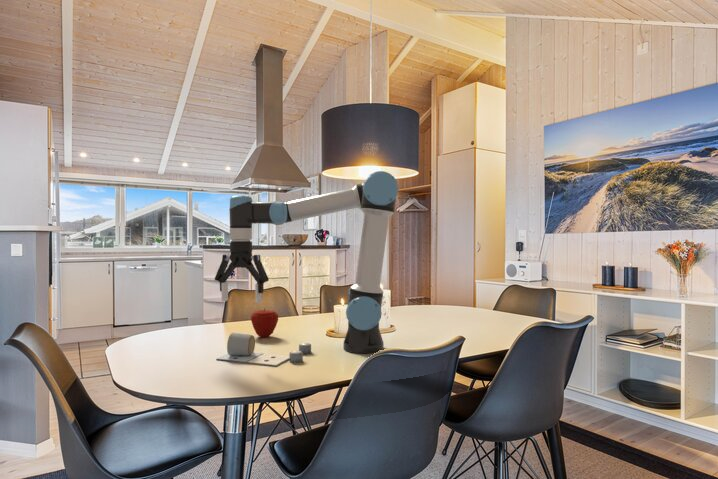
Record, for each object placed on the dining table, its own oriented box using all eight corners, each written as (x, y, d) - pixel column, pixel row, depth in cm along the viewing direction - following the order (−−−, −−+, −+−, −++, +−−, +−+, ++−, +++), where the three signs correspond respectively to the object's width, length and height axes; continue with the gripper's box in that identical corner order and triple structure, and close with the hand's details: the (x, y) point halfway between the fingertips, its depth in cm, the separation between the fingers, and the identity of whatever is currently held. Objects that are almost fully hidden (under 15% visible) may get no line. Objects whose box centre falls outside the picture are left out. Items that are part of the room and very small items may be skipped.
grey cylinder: (250, 358, 151) (250, 335, 151) (226, 357, 151) (226, 335, 151) (258, 350, 162) (258, 329, 162) (235, 350, 162) (236, 329, 162)
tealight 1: (304, 360, 151) (304, 350, 151) (298, 364, 147) (298, 354, 147) (293, 359, 153) (293, 349, 153) (287, 362, 148) (287, 352, 148)
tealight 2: (313, 352, 162) (313, 343, 162) (307, 355, 158) (307, 345, 158) (302, 351, 164) (302, 342, 164) (296, 353, 160) (296, 344, 160)
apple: (283, 336, 187) (283, 307, 187) (265, 341, 178) (265, 311, 178) (264, 333, 193) (264, 305, 193) (245, 337, 184) (245, 308, 184)
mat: (292, 357, 154) (292, 356, 154) (276, 366, 143) (276, 365, 143) (236, 351, 162) (236, 350, 162) (216, 360, 151) (216, 358, 151)
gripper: (278, 240, 154) (278, 301, 154) (217, 240, 162) (218, 298, 162) (266, 240, 146) (267, 305, 147) (204, 240, 155) (204, 301, 155)
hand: (241, 301), depth 154 cm, fingers open, 13 cm apart
